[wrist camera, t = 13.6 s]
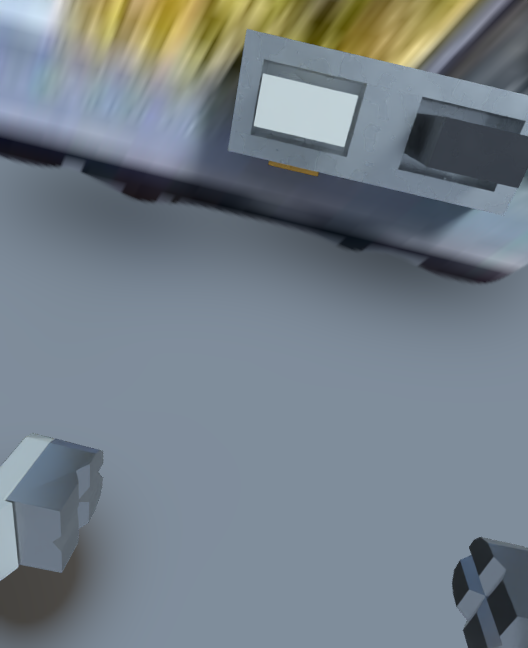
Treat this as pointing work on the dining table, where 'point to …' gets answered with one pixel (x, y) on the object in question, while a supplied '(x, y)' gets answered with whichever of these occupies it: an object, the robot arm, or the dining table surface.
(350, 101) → the panel
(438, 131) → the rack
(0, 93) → the dining table surface
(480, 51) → the dining table surface
